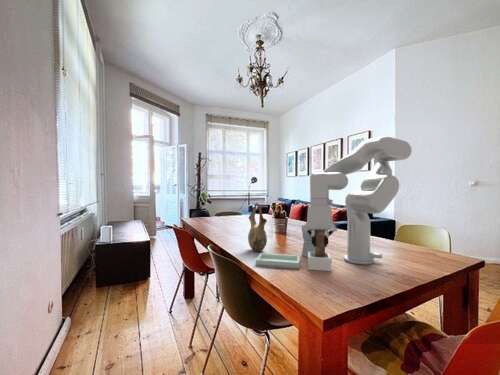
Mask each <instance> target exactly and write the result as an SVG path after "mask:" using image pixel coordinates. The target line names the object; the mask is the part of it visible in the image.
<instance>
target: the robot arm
mask: <svg viewBox="0 0 500 375" xmlns="http://www.w3.org/2000/svg"><path fill="white" fill-rule="evenodd" d="M411 154H412V146H411V145H410V143H409V142H407V141H406V140H403V139H399V138H395V137H390V136H377V137H374V138H373V137H372V138H369V139H365V140H363V141H362V142H361V143H360V144H359V145H358V146H357V147H355V148H354V149H353V150H352V151H351V152H349V154H347V155H346V156H344V157H342V158H340V159H339V160H337V161H335V162H333V163H331V164H330V165H329V166H327V167H326V168H325V169H323V170H322V171H321V172H314V173H311V174H310V177H309V196H310V197H309V198H310V199H309V202H310V203H309V205H308V206H307V217H306V223H305V224H304V225H305V226H304V227H303V230H305V231H306V232H308V233H309V234H310V235H311V237H312V244H313V246H314V247H315V235H314V233H315V230H318V229H322V230H325V248H327V247H328V246H329V238H330V236H332V235H333V233H335V232H337V231H338V228H337V226H336V225H335V224H334V222H333V212H332V206H331V205H330V204H333V202H334V201H333V199H331V198H330V191H331V190H332V191H341V190H344V189H345V188H346V187H347V186H348V185H349V178H348V176H347V175H351V174H353V173H356V172H359V171H361V170H362V169H363V168H364V167H365V166H366V165H367V164H368V163H369V162H371V161H372V160H373V163H374V165H373V168H372V170H371V171H370V172H369V173H368V175H367V176H365V178H364V179H363V181H362V182H361V184H360V190H354V191H350V192H349V193H348V194H346V196H345V201H344V202H345V203H344V204H345V208H346V217H347V231H346V232H347V235H346V236H347V240H346V241H347V246H346V247H347V249H346V250H347V251H346V253H347V254H344V256H343V260H344V261H345V262H348V263H351V264H355V265H372V264H374V263H375V260H374V259H383V254H382V253H377V252H372V250H371V219H370V216H369V214H371V215H372V214H374V215H375V214H376V215H377V214H378V215H379V214H381V213H382V212H384V211H385V209H387V207H389V205H390V204H391V202H392V201H393V200H394V199H395V197H396V196H397V194H398V192H399V189H400V183H399V179H398V178H397V177H396V176H394V175H393V169H392V167H391V166H390V163H389V162H395V161H403V160H407V159H408V158H410V156H411ZM307 227H308V228H309V229H311V230H312V231H310V230H309V229H307Z"/></svg>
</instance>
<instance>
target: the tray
mask: <svg viewBox="0 0 500 375" xmlns="http://www.w3.org/2000/svg"><path fill="white" fill-rule="evenodd" d="M300 263H301V256H300V255H297V254H296V255H295V254H281V253H265V252H260V253H259V255H258V256H256V259H255V267H266V268H267V267H268V268H279V269H281V268H282V269H293V270H300Z"/></svg>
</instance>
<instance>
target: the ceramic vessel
mask: <svg viewBox="0 0 500 375" xmlns="http://www.w3.org/2000/svg"><path fill="white" fill-rule="evenodd" d="M257 206H258V207H257ZM257 208H258V212H259V214H258V216H259V217H258V218H259V221H258V224H257V221H256V209H257ZM248 220H249V222H250V229H249V231H248V235H247V241H248V245H249V247H250V248H251V250H252V251H254V252H256V253H257V252H258V253H259V252H260V253H261V252H262V251H264V249H265V248H266V246H267V243H268V242H267V241H268V237H267V232H266V229H265V227H266V226H265V225H266V224H267V222H268V220H267V219H266V218H264V215H263V211H262V206H261V204H260V203H259V202H256V203H255V204H254V205H253V209H252V211H251V213H250V214H249V216H248Z"/></svg>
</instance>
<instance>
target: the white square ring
mask: <svg viewBox="0 0 500 375" xmlns="http://www.w3.org/2000/svg"><path fill="white" fill-rule="evenodd" d="M307 270H311V271H312V270H313V271H326V272H332V256H331V255H330V252H326V251H325V257H315V252H311V251H308V258H307Z"/></svg>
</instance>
